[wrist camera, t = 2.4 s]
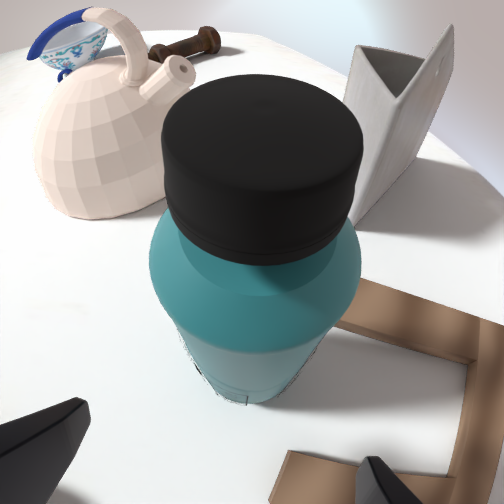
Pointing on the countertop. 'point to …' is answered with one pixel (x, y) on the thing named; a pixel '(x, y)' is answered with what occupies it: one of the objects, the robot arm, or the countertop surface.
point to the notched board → (473, 410)
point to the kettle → (106, 124)
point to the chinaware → (74, 46)
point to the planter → (393, 111)
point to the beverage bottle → (257, 227)
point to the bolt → (188, 45)
